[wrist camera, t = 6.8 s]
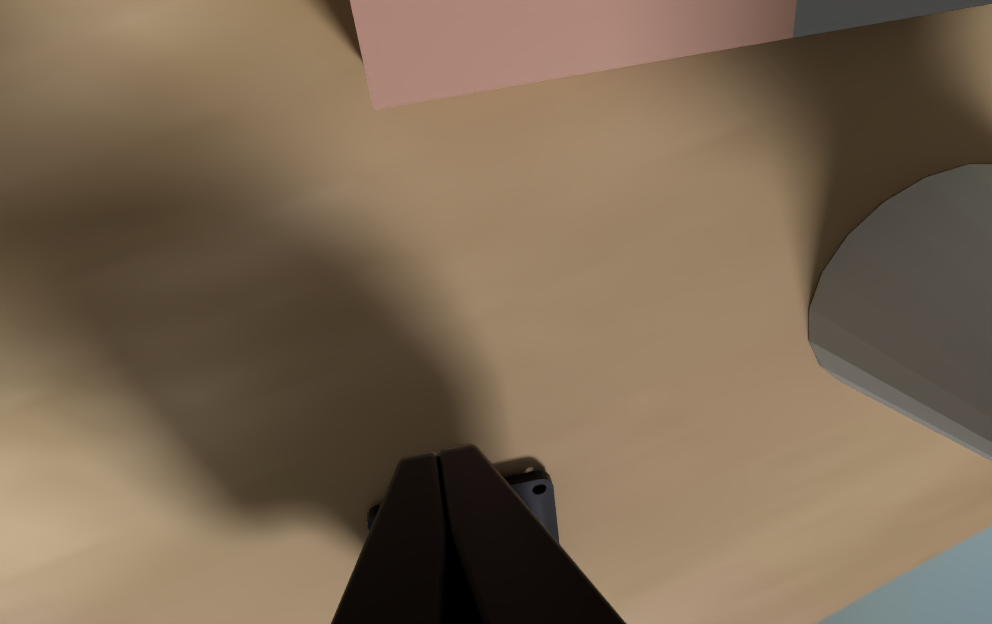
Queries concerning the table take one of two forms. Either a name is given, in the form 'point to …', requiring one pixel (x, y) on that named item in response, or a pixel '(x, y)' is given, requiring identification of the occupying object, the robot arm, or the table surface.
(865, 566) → the table surface
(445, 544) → the robot arm
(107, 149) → the table surface
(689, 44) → the pink rimmed tray
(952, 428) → the lava lamp
